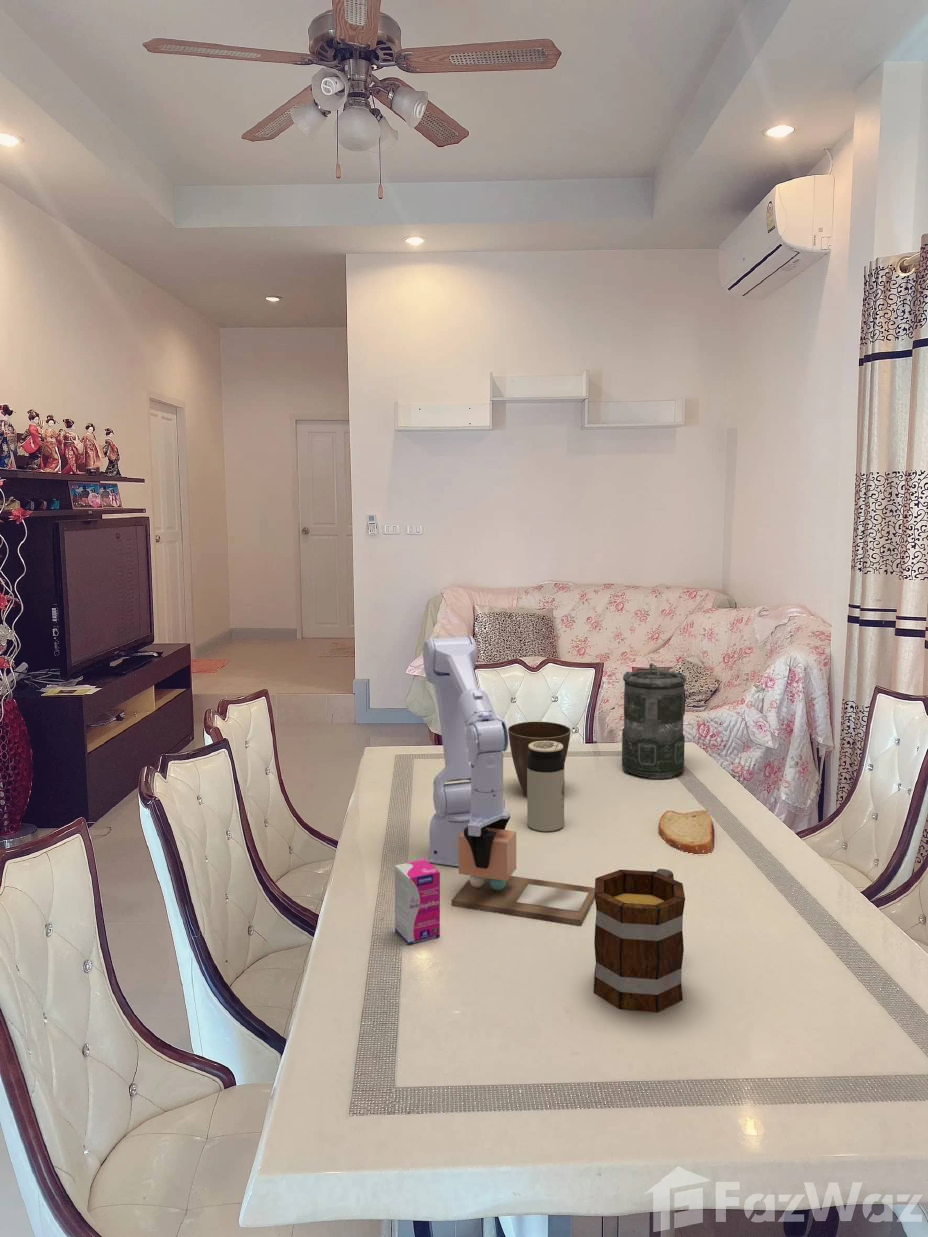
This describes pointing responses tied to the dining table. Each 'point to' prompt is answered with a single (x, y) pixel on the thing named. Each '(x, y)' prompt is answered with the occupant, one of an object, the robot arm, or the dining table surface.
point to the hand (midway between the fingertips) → (487, 860)
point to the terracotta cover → (500, 856)
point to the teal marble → (497, 884)
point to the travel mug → (545, 786)
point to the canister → (653, 723)
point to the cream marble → (477, 881)
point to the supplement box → (417, 901)
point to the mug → (639, 939)
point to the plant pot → (531, 733)
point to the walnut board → (530, 899)
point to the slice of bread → (688, 831)
